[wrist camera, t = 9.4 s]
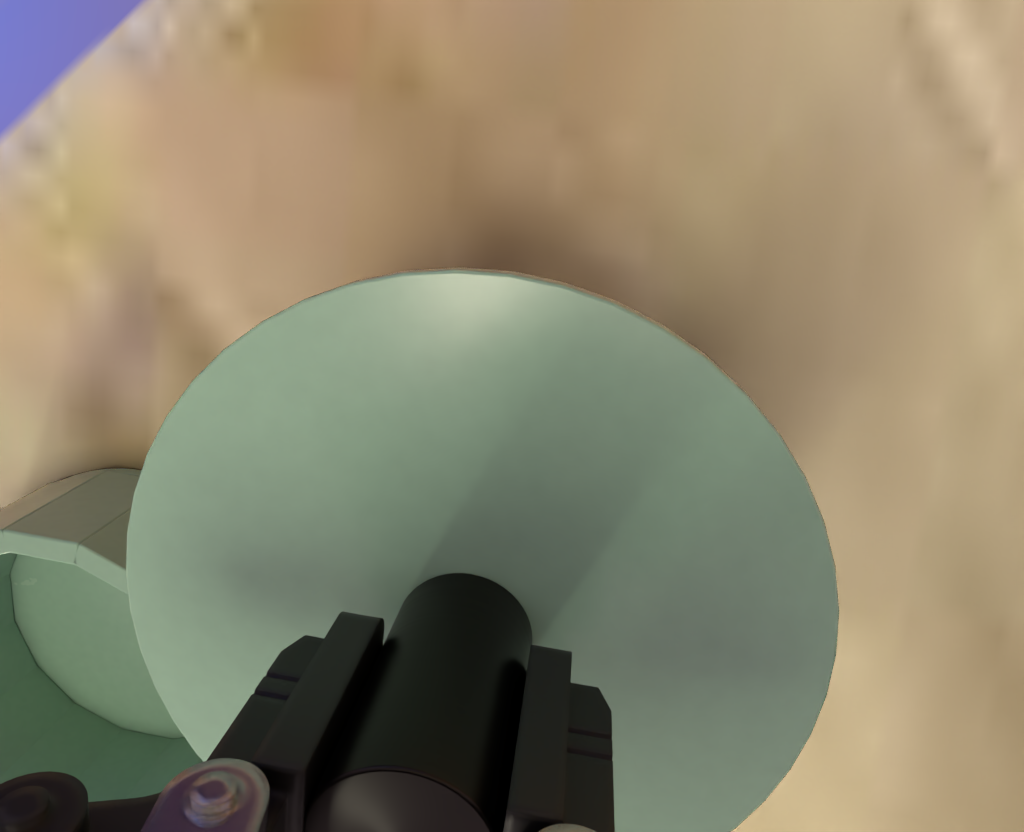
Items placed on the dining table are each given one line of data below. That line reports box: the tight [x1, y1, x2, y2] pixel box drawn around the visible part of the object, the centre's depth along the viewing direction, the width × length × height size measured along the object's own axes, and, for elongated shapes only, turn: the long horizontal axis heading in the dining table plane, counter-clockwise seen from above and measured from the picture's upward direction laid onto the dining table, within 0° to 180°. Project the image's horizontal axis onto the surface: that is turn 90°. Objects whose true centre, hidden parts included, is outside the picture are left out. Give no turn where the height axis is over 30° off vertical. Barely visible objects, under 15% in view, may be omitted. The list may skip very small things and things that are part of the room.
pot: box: [0, 468, 203, 802], centre depth 27 cm, size 13×13×6 cm
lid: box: [126, 267, 839, 832], centre depth 12 cm, size 14×14×6 cm
